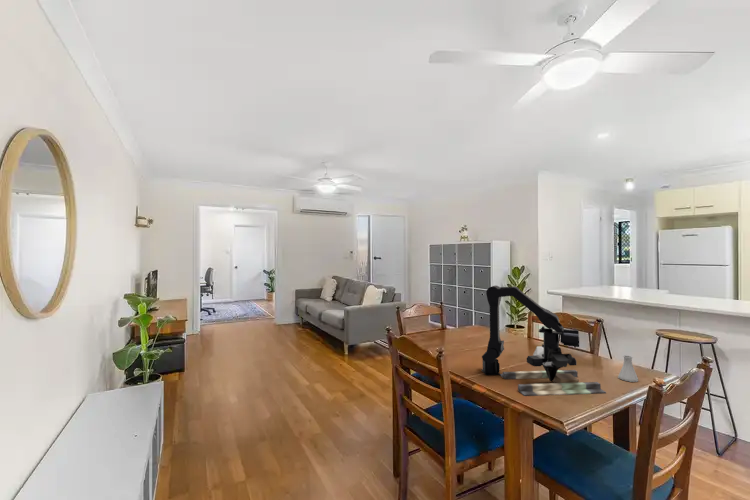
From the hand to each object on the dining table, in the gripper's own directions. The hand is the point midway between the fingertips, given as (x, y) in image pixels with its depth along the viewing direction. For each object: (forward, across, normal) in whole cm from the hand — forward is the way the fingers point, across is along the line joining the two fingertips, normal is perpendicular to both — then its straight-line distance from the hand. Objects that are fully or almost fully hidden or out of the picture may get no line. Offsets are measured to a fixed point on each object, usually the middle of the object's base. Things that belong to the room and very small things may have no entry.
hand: (551, 380), depth 143 cm
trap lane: (+1, -1, 0) cm, 1 cm away
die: (+1, +12, +26) cm, 29 cm away
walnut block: (+2, +5, -2) cm, 6 cm away
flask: (+1, +36, +2) cm, 36 cm away
